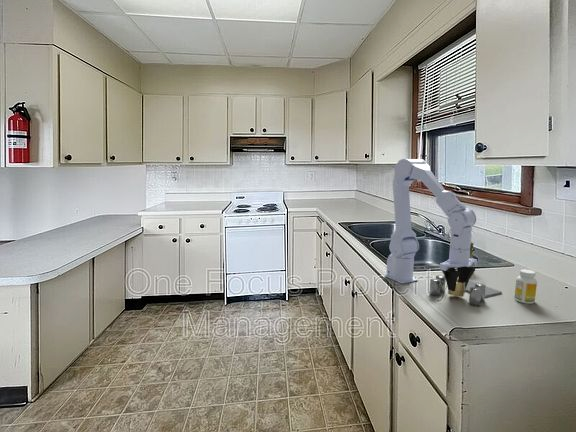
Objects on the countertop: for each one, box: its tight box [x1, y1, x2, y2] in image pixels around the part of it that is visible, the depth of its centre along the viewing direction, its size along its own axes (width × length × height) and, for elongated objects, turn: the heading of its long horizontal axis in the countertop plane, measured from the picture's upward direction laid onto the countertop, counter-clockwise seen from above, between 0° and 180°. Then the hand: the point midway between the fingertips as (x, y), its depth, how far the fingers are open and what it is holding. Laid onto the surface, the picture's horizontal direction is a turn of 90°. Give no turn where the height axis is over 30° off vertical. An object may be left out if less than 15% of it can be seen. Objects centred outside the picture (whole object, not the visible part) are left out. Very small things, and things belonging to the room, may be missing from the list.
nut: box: [447, 279, 466, 298], centre depth 113 cm, size 5×4×4 cm
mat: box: [465, 280, 503, 298], centre depth 120 cm, size 12×9×1 cm
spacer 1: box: [429, 278, 441, 298], centre depth 115 cm, size 3×3×5 cm
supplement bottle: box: [513, 268, 538, 305], centre depth 110 cm, size 5×5×10 cm
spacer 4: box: [475, 282, 487, 303], centre depth 111 cm, size 3×3×5 cm
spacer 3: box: [468, 287, 481, 308], centre depth 107 cm, size 3×3×5 cm
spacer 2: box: [435, 274, 446, 293], centre depth 119 cm, size 3×3×5 cm
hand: (456, 289), depth 113 cm, fingers closed on nut, 4 cm apart
